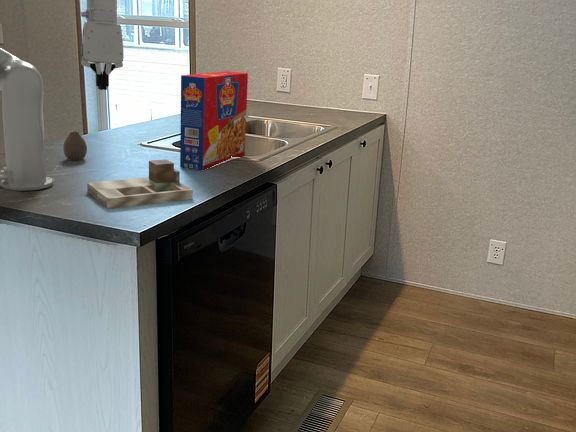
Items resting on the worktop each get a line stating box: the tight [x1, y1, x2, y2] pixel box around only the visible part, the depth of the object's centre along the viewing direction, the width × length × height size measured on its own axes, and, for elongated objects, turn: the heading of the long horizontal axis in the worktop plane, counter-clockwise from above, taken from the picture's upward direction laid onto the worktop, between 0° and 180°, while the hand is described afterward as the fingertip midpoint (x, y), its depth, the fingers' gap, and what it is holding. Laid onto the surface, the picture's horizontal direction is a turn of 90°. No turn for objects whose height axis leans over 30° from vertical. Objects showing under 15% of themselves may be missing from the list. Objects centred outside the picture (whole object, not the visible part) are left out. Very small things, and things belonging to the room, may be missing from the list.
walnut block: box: [148, 159, 175, 183], centre depth 168 cm, size 5×5×5 cm
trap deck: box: [86, 168, 194, 210], centre depth 162 cm, size 22×16×6 cm
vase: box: [62, 130, 88, 162], centre depth 196 cm, size 7×7×9 cm
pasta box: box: [179, 70, 249, 171], centre depth 202 cm, size 28×8×28 cm, turn 157°
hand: (102, 89), depth 169 cm, fingers closed
